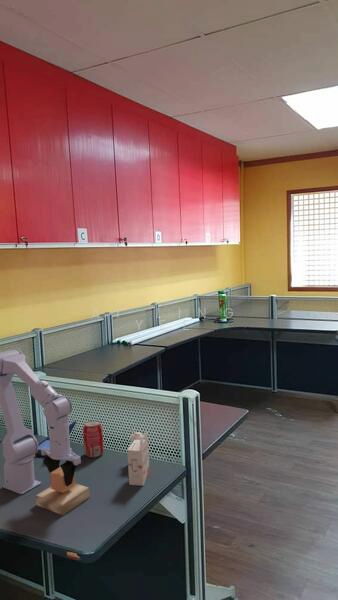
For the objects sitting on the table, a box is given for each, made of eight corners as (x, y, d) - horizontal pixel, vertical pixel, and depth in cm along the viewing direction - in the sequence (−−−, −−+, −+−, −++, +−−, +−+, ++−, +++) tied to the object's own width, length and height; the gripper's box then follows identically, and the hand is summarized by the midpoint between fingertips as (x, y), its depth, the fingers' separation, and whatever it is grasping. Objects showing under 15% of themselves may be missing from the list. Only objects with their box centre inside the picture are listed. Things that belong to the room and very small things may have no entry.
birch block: (36, 506, 136) (35, 495, 136) (63, 489, 145) (63, 479, 145) (63, 516, 130) (62, 505, 130) (89, 498, 139) (89, 487, 139)
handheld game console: (48, 440, 185) (47, 417, 184) (78, 442, 182) (77, 419, 181) (26, 456, 170) (24, 432, 169) (58, 459, 167) (57, 435, 166)
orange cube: (50, 488, 137) (50, 472, 136) (63, 481, 141) (62, 465, 140) (62, 492, 134) (61, 476, 133) (75, 485, 138) (74, 469, 138)
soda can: (94, 449, 174) (92, 418, 173) (107, 453, 170) (106, 421, 169) (80, 455, 169) (78, 424, 167) (94, 460, 164) (92, 428, 163)
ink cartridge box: (135, 472, 154) (133, 430, 153) (149, 473, 153) (148, 431, 152) (128, 485, 146) (126, 440, 144) (143, 486, 145) (141, 441, 143)
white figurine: (128, 460, 164) (126, 427, 163) (137, 456, 166) (136, 424, 165) (141, 468, 156) (140, 435, 155) (151, 465, 159) (149, 432, 158)
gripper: (87, 438, 135) (89, 482, 136) (52, 429, 143) (55, 471, 144) (69, 447, 129) (72, 493, 130) (34, 437, 137) (37, 480, 138)
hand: (62, 482), depth 137 cm, fingers open, 5 cm apart
